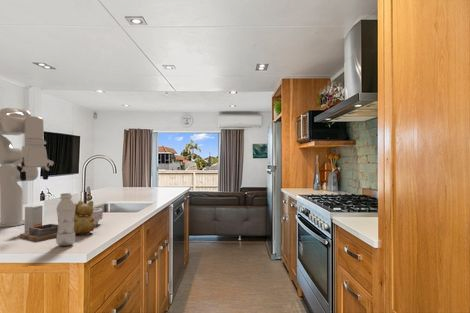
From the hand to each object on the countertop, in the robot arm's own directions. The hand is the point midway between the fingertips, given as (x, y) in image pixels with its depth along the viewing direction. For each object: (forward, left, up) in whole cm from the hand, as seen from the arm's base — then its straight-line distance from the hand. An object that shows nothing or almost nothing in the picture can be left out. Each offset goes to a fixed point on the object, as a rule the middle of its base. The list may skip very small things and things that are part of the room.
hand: (34, 180), depth 147 cm
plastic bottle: (+36, -6, -24) cm, 44 cm away
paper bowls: (+7, +22, -24) cm, 33 cm away
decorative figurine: (+24, +9, -24) cm, 35 cm away
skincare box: (0, 0, -24) cm, 24 cm away
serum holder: (+13, -1, -24) cm, 27 cm away
